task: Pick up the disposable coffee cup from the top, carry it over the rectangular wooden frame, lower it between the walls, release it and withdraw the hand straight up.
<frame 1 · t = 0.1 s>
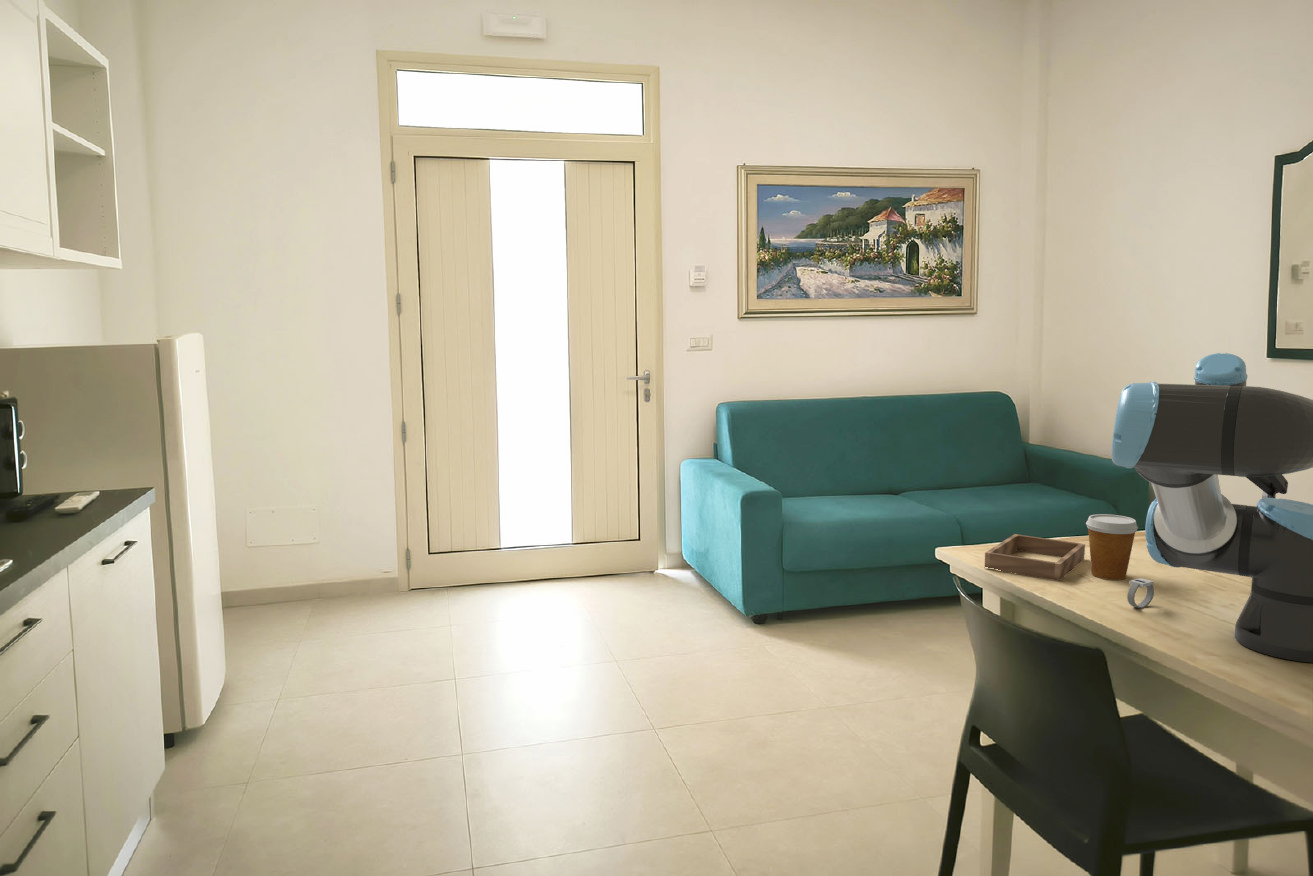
hand: (1222, 511, 172), 15 cm above the table, tool tilted 35°, fingers open, 13 cm apart
rectangular wooden frame: (1035, 564, 191), on the table
wristwatch: (1139, 608, 163), on the table
disposable coffee cup: (1108, 576, 182), on the table
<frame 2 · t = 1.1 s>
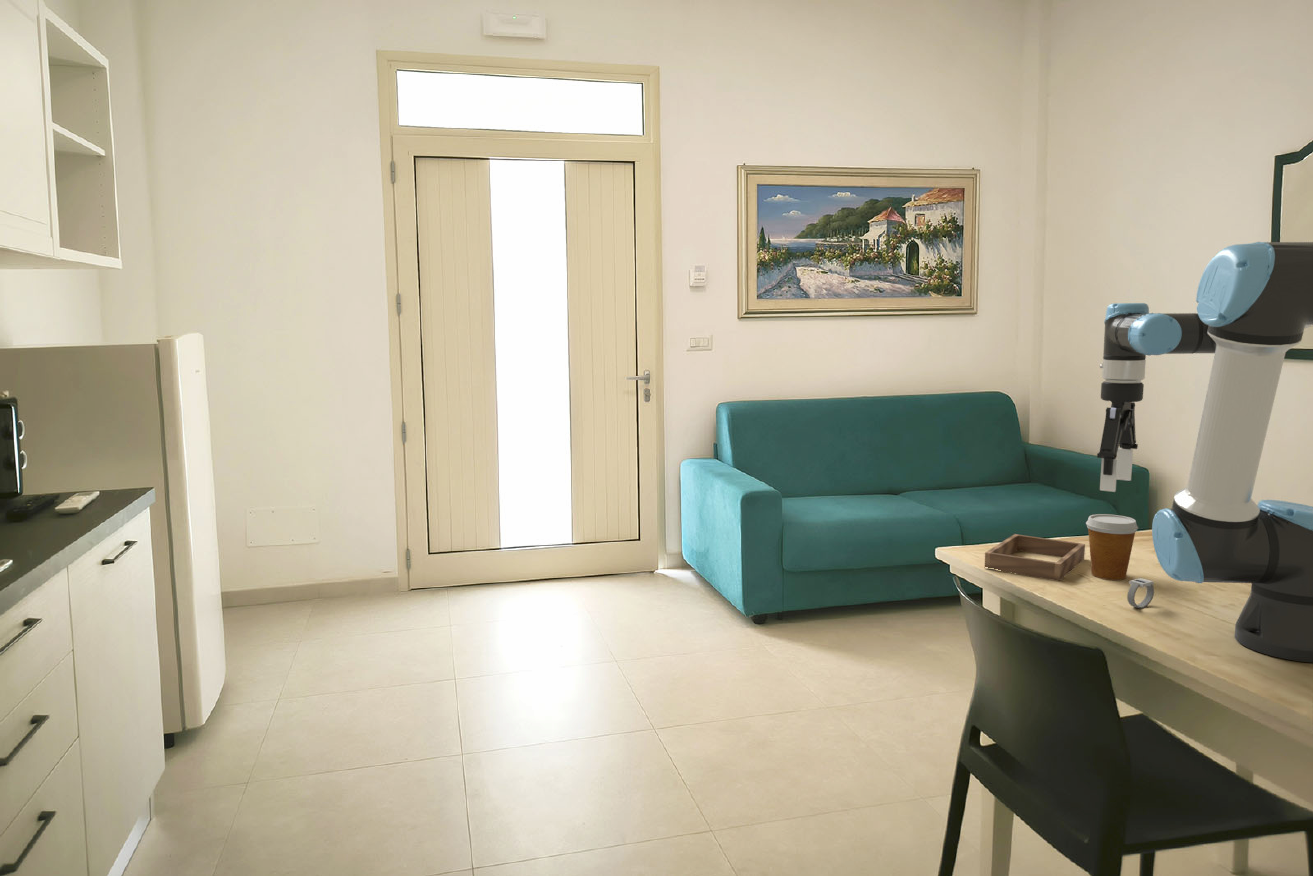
hand: (1115, 485, 180), 19 cm above the table, tool pointing down, fingers open, 13 cm apart
nothing on the table moved.
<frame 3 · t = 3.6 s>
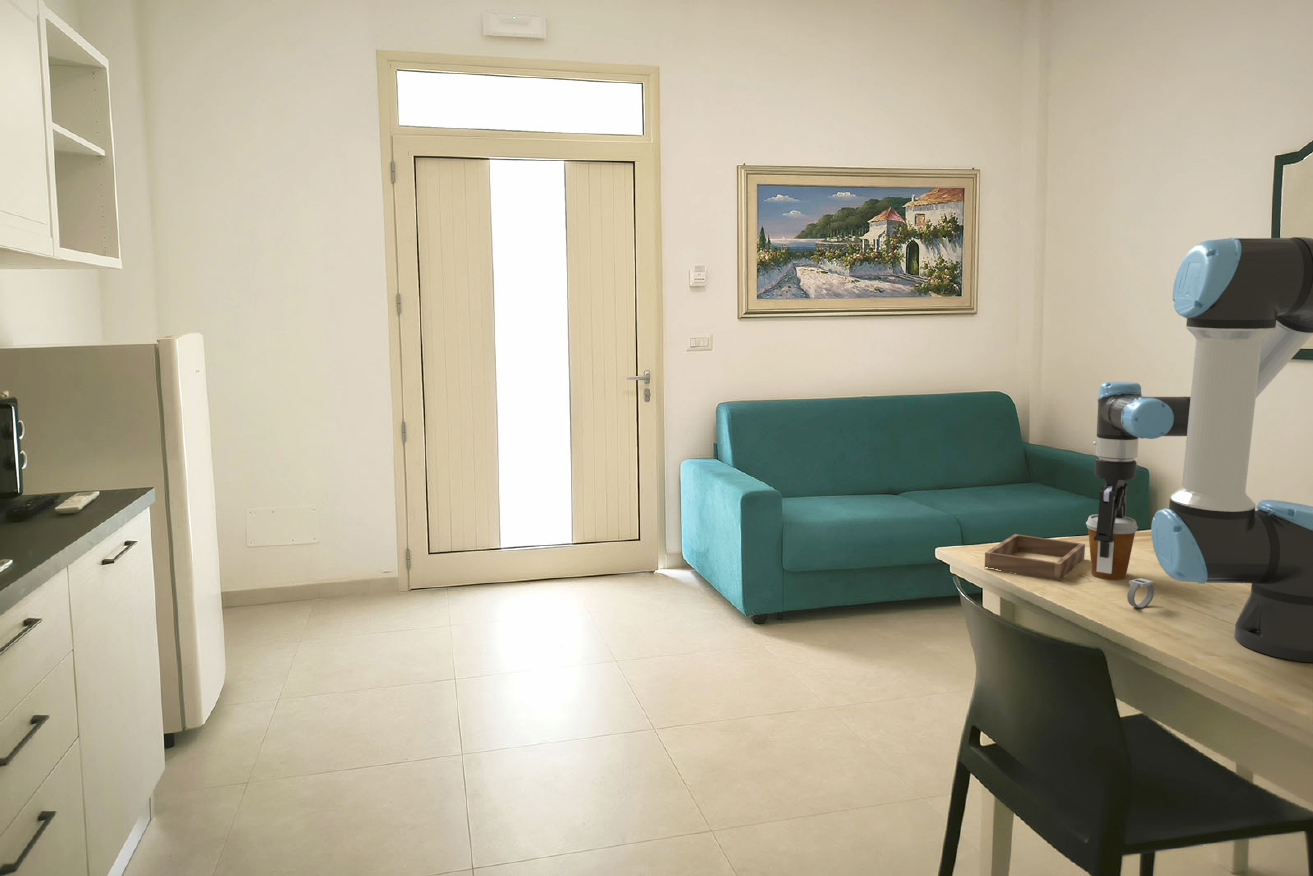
hand: (1109, 567, 182), 2 cm above the table, tool pointing down, fingers closed on disposable coffee cup, 8 cm apart
disposable coffee cup: (1108, 576, 182), on the table, touching gripper
everything else where it was.
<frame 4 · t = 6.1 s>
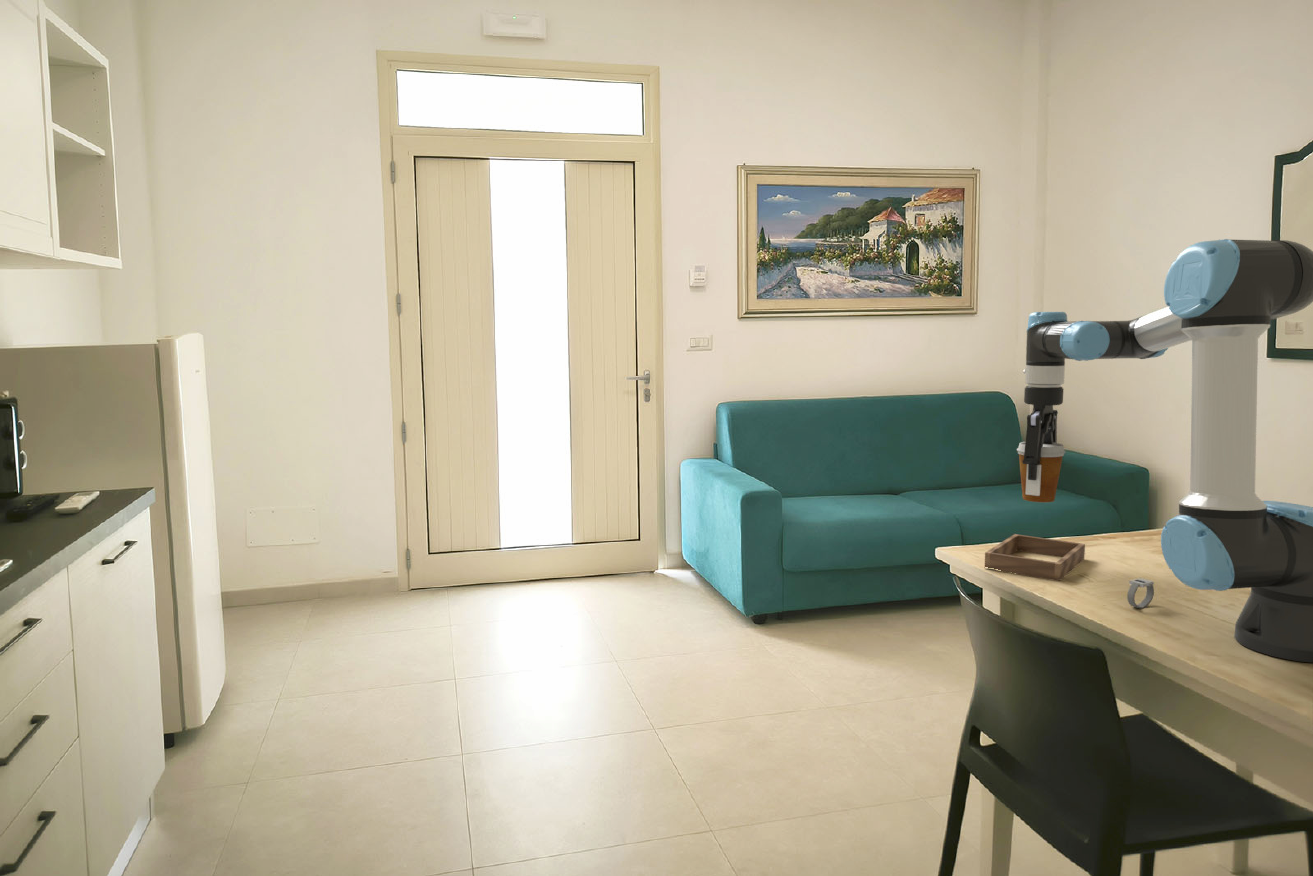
hand: (1038, 491, 189), 16 cm above the table, tool pointing down, fingers closed on disposable coffee cup, 8 cm apart
disposable coffee cup: (1038, 500, 189), point 14 cm above the table, touching gripper
everything else where it was.
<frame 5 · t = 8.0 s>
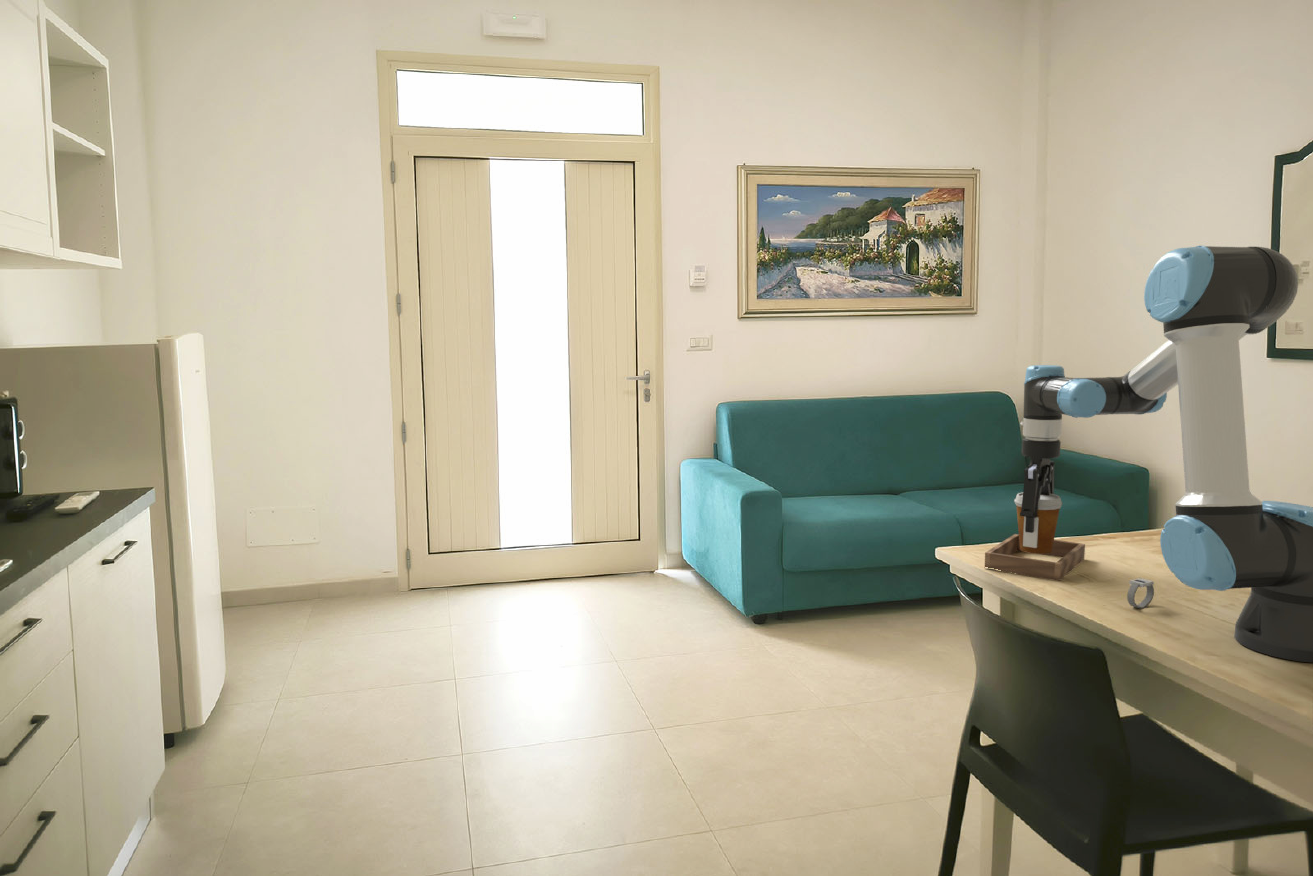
hand: (1036, 542, 191), 5 cm above the table, tool pointing down, fingers closed on disposable coffee cup, 8 cm apart
disposable coffee cup: (1035, 551, 191), point 3 cm above the table, touching gripper
everything else where it was.
when the fingers open (4 cm above the table, at t = 9.0 s): disposable coffee cup drops 2 cm, resting in rectangular wooden frame.
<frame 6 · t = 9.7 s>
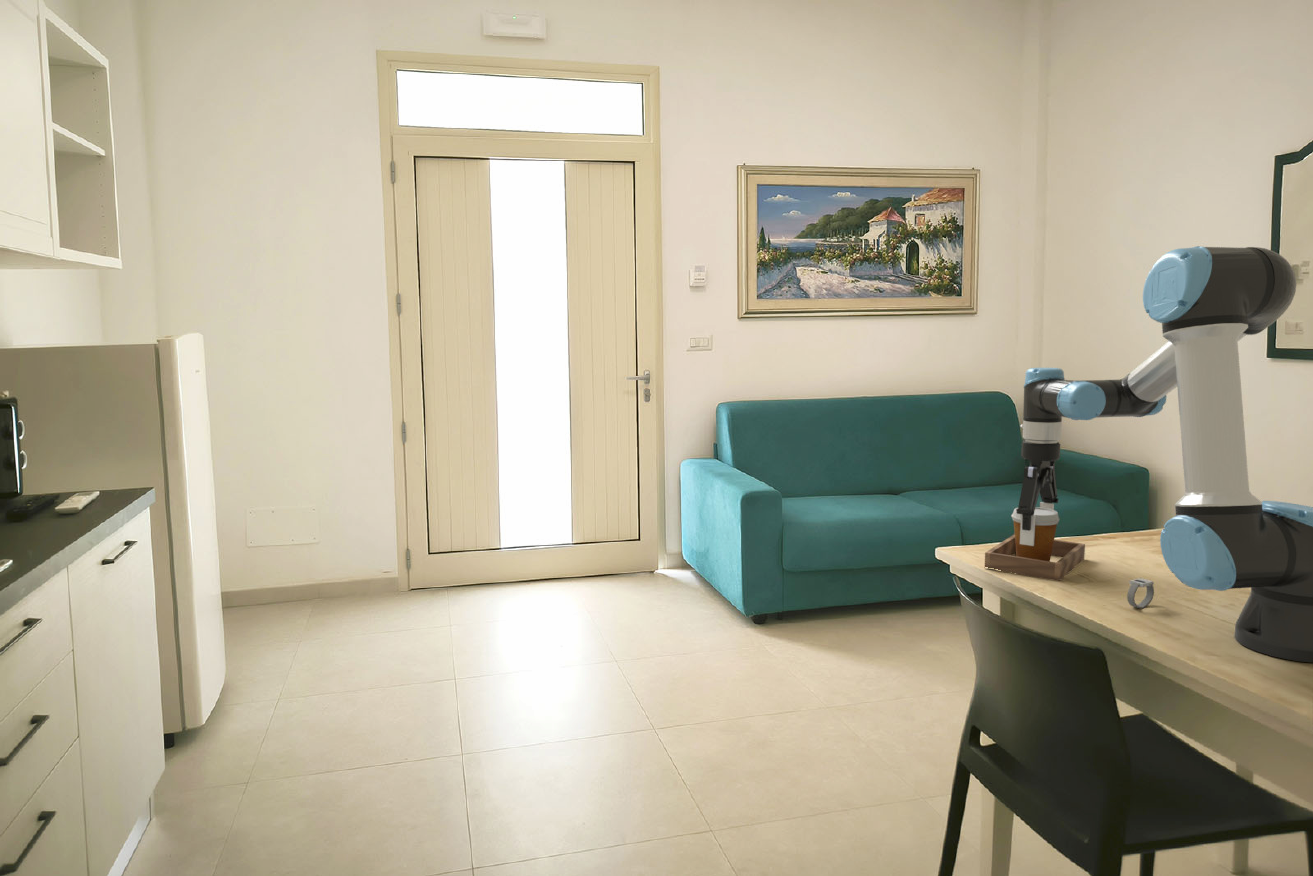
hand: (1036, 538, 190), 6 cm above the table, tool pointing down, fingers open, 13 cm apart
disposable coffee cup: (1032, 566, 190), resting in rectangular wooden frame, touching gripper
everything else where it was.
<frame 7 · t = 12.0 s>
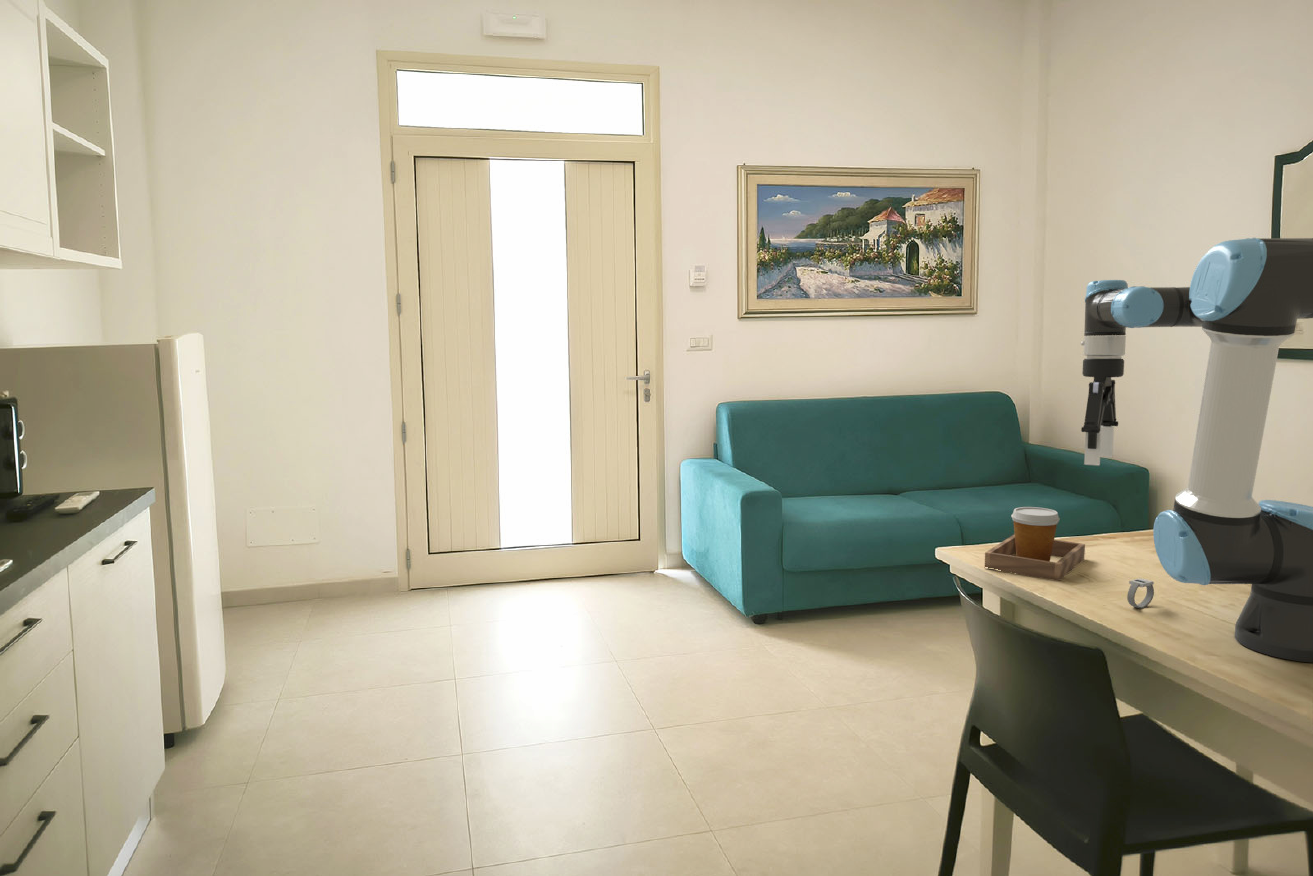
hand: (1098, 461, 182), 23 cm above the table, tool pointing down, fingers open, 13 cm apart
disposable coffee cup: (1032, 566, 190), resting in rectangular wooden frame
everything else where it was.
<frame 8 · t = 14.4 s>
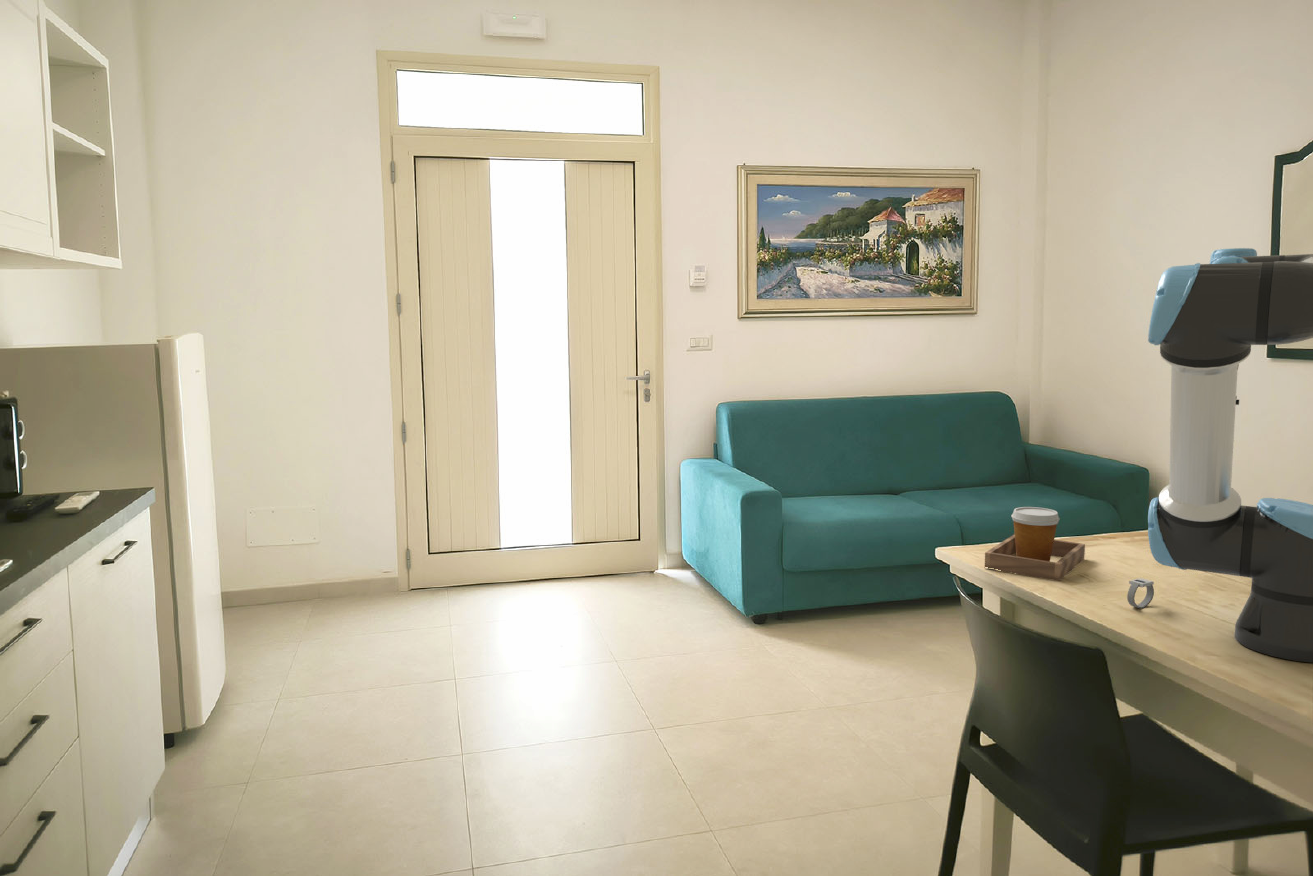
hand: (1219, 441, 172), 29 cm above the table, tool pointing down, fingers open, 13 cm apart
nothing on the table moved.
at the end: disposable coffee cup 1.7 cm from the rectangular wooden frame (horizontally); disposable coffee cup tilted 0°; the gripper is holding nothing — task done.
